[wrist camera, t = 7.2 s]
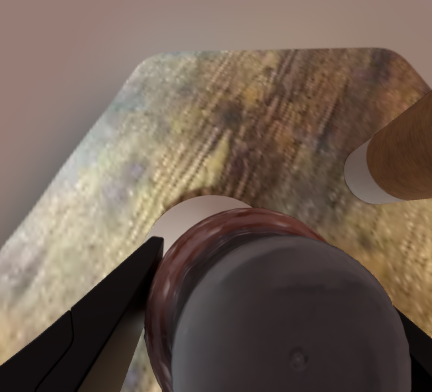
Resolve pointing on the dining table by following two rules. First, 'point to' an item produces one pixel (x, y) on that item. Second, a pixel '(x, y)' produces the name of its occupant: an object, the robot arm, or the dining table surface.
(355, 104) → the dining table surface
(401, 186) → the coffee cup
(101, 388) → the robot arm
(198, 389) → the supplement bottle
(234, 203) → the beige flattened disc
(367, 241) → the dining table surface
